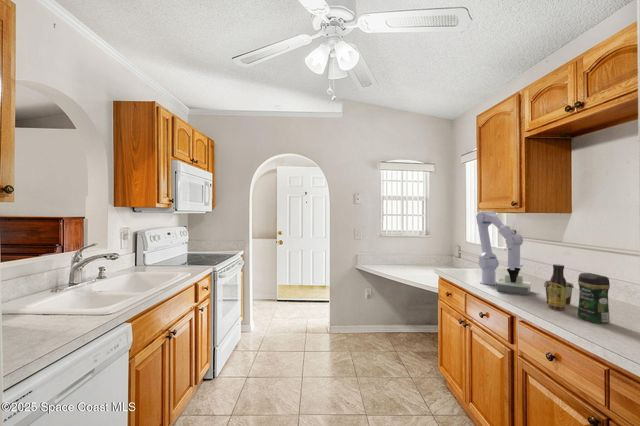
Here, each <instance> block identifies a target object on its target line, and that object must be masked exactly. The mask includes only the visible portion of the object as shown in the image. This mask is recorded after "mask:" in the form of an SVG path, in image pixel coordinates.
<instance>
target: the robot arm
mask: <svg viewBox="0 0 640 426" xmlns="http://www.w3.org/2000/svg"><path fill="white" fill-rule="evenodd" d="M475 218H476V224H477V228H478V233H479V241H480V247H481V253H480V255H479V256H478V265H479V267H480V269H481V282H479V284H480V285H481V284H482V285H490V286H496V285H497V284H496V282H497V281H496V280H497V279H496V278H497V277H496V270H497V268H499V264H500V263H499V260H498V258H497V255H496V253H493V249H492V244H491V238H490V232H489V226H491V225H494V226H495V227H496V228H497V229H498V232H499V233H500V235H501V236H502V237H503V238H504V240H505V244H506V248H507V267H508V268H507V269H506V271H507V273H508V275H509V276H510V280H511V282H514V283H515V282H516V278H517V276H519V275H520V271H521V268H522V267H523V266H524V265H522V264H521V246H522V244H523V241H524V239H523V236H522V235H521V234H518V233H515V232H514V231H513V230H512V229H511V227H510V226H508V225H505V224H504V223H503V222H502V220H501V219H500V218H499V217H498V214H497V212H496V211H494V210H492V211H489V210H488V211H487V210H486V211H483V210H480V211H478V212H477V214H476V215H475Z"/></svg>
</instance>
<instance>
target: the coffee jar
mask: <svg viewBox="0 0 640 426" xmlns="http://www.w3.org/2000/svg"><path fill="white" fill-rule="evenodd" d="M577 282H578V283H577V284H578V287H579V289H578V290H579V294H578V295H579V298H578V307H577V316H578V317H579V318H580V319H583V320H585V321H588V322H590V323H596V324H597V323H598V324H602V325H604V324H607V323H610V321H611V320H610V307H609V305H610V304H609V290H610V287H611V285H610V284H611V283H610V279H609V277H607V276H604V275H600V274H596V273H591V272H584V273H583V272H581V273H580V274H579V275H578V279H577Z"/></svg>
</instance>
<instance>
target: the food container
mask: <svg viewBox="0 0 640 426" xmlns="http://www.w3.org/2000/svg"><path fill="white" fill-rule="evenodd" d="M549 282H550V280H546V281H545V282H544V283H543V287H544V288H545V294H546V295H545V296H546V303H547V304H548V297H549ZM574 288H575V286H574V285H573V283H572V282H568V281H566V304H565V306H570V305H571V302H572V301H571V300H572V293H573V289H574Z"/></svg>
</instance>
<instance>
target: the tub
mask: <svg viewBox="0 0 640 426" xmlns="http://www.w3.org/2000/svg"><path fill="white" fill-rule="evenodd" d="M496 291H497V292H499V293H500V292H501V293H508V294H514V295H522V296H529V294H530V292H531V286H530V287H529V288H524V287H516V286H508V285H500V284H497V290H496Z"/></svg>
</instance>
